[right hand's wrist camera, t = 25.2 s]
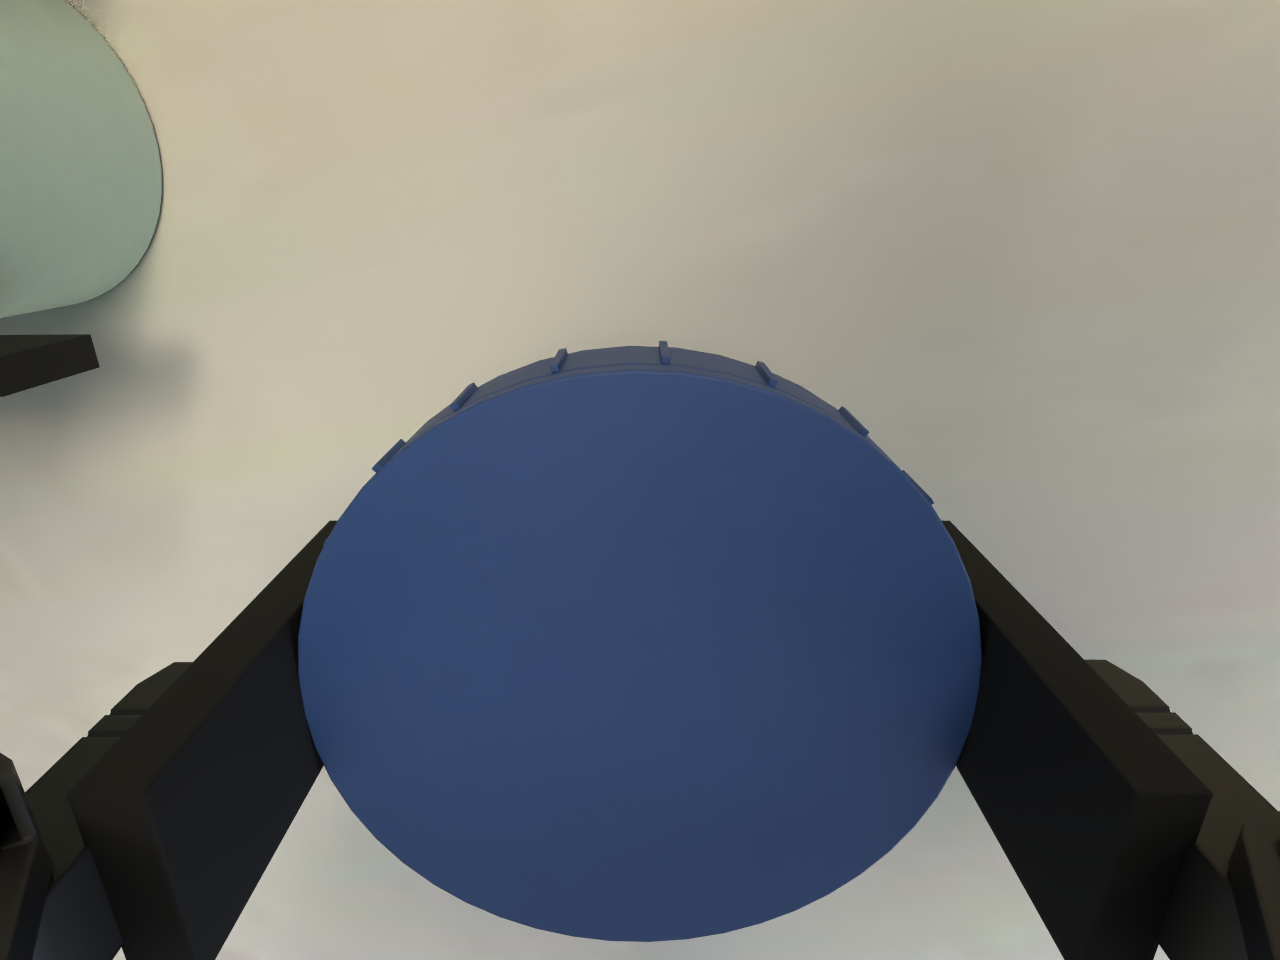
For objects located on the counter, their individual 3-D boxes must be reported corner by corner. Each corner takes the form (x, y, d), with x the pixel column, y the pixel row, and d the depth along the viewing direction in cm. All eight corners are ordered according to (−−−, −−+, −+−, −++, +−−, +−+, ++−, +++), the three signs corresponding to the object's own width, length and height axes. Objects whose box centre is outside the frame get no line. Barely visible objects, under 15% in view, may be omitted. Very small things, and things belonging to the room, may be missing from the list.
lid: (485, 208, 10) (456, 209, 8) (1070, 531, 11) (1138, 583, 10) (255, 737, 13) (204, 810, 11) (742, 929, 14) (754, 1014, 13)
